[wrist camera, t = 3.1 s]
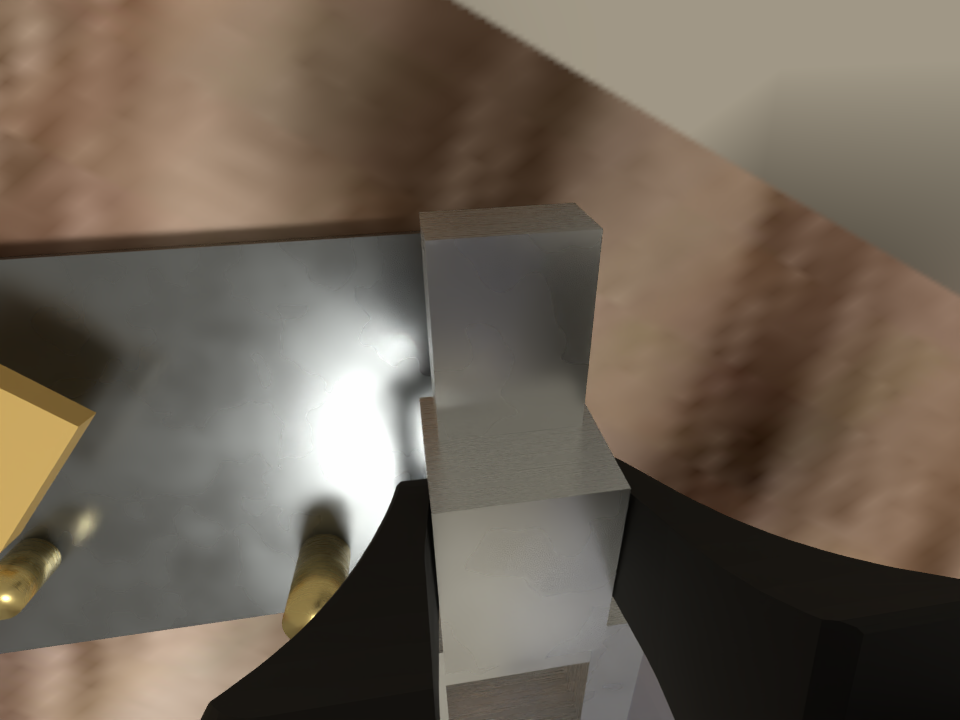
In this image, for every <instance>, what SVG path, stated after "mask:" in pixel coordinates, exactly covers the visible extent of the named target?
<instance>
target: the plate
mask: <svg viewBox="0 0 960 720" xmlns="http://www.w3.org/2000/svg"><path fill="white" fill-rule="evenodd" d="M0 364H1V365H3V366H5V367H7V368H9V369H11V370H13V371H15V372H17V373H19V374H21V375H23V376H25V377H27V378H29V379H31V380H33V381H35V382H37V383H39V384H41V385H43V386H45V387H47V388H49V389H51V390H52V391H54V392H56V393H58V394H60V395H62V396H64V397H66V398H68V399H70V400H72V401H74V402H76V403H78V404H80V405H82V406H84V407H86V408H88V409H90V410H92V411H94V412H96V414H95V416H94V417H93V419H92V420H91V422H90V424H89V425H88V427H87V428H86V430H85V432H84V433H83V435H82V436H81V438H80V440H79V441H78V443H77V444H76V446H75V448H74V449H73V451H72V452H71V454H70V456H69V457H68V459H67V460H66V462H65V464H64V465H63V467H62V468H61V470H60V471H59V473H58V475H57V476H56V478H55V479H54V481H53V483H52V484H51V486H50V487H49V489H48V491H47V492H46V494H45V495H44V497H43V499H42V500H41V502H40V503H39V505H38V507H37V508H36V510H35V511H34V513H33V515H32V516H31V518H30V519H29V521H28V523H27V524H26V526H25V527H24V529H23V530H22V532H21V534H19V535H18V536H17V537H16V538H15V539H14V540H13V541H12V542H11V543H10V544H9V545H8V546H7V547H6V548H5V549H4V550H3V551H2V552H1V553H0V560H1V559H2V558H3V557H4V556H5V555H6V554H7V553H8V552H9V551H10V550H11V549H12V548H13V547H14V546H15V545H16V544H18V543H19V542H21V541H23V540H26V539H31V538H37V539H43V540H46V541H48V542H50V543H52V544H53V545H54V546H55V547H57V549H58V550H59V552H60V554H61V563H60V566H59V567H58V568H57V569H56V571H55V572H54V573H53V574H52V575H51V576H50V578H49V579H48V580H47V581H46V582H45V583H44V585H43V586H42V587H41V588H40V589H39V590H38V592H37V593H36V594H35V595H34V596H33V597H32V599H31V600H30V601H29V602H28V603H27V604H26V606H25V607H24V608H23V609H22V610H21V612H20V613H19V614H17V615H16V616H14V617H12V618H10V619H5V620H0V654H2V653H9V652H16V651H22V650H29V649H36V648H43V647H50V646H57V645H64V644H71V643H78V642H84V641H91V640H98V639H105V638H112V637H119V636H126V635H133V634H140V633H146V632H153V631H160V630H167V629H174V628H181V627H188V626H195V625H202V624H208V623H215V622H222V621H229V620H236V619H243V618H250V617H257V616H264V615H270V614H277V613H284V611H285V607H286V603H287V599H288V595H289V591H290V587H291V583H292V579H293V575H294V571H295V567H296V563H297V559H298V555H299V551H300V548H301V547H302V545H303V544H304V542H306V541H307V540H308V539H309V538H311V537H313V536H316V535H320V534H331V535H335V536H338V537H340V538H341V539H343V540H344V541H345V542H346V543H347V544H348V546H349V548H350V552H351V557H350V566H349V574H350V573H351V571H352V570H353V568H354V567H355V565H356V564H357V563H358V561H359V559H360V558H361V556H362V555H363V553H364V551H365V550H366V548H367V547H368V545H369V543H370V542H371V540H372V539H373V537H374V535H375V533H376V531H377V529H378V527H379V526H380V524H381V522H382V520H383V518H384V516H385V514H386V512H387V510H388V507H389V505H390V503H391V500H392V498H393V495H394V492H395V488H396V486H397V485H398V484H399V483H400V482H401V481H409V480H417V479H426V469H425V458H424V446H423V435H422V424H421V412H420V401H419V398H420V397H430V396H432V383H431V369H430V356H429V342H428V328H427V314H426V301H425V287H424V273H423V259H422V246H421V232H420V231H412V232H396V233H380V234H364V235H348V236H332V237H316V238H300V239H284V240H269V241H253V242H237V243H221V244H205V245H189V246H173V247H157V248H141V249H125V250H109V251H93V252H77V253H62V254H46V255H30V256H14V257H0Z"/></svg>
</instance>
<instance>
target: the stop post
mask: <svg viewBox="0 0 960 720" xmlns="http://www.w3.org/2000/svg"><path fill="white" fill-rule="evenodd" d="M60 563H61V554H60V552H59V550H58V549H57V547H55V546H54V545H53V544H52V543H50V542H48V541H46V540H43V539H37V538H31V539H26V540H23V541H21V542H19V543H18V544H16V545H15V546H14V547H13V548H12V549H11V550H10V551H9V552H8V553H7V554H6V555H5V556H4V557H3V558H2V559H1V560H0V620H5V619H10V618H12V617H14V616H16V615H17V614H19V613H20V612H21V610H22V609H23V608H24V607H25V606H26V604H27V603H28V602H29V601H30V600H31V599H32V597H33V596H34V595H35V594H36V593H37V592H38V590H39V589H40V588H41V587H42V586H43V585H44V583H45V582H46V581H47V580H48V579H49V578H50V576H51V575H52V574H53V573H54V572H55V571H56V569H57V568H58V567H59V566H60Z"/></svg>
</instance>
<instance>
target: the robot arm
mask: <svg viewBox="0 0 960 720" xmlns="http://www.w3.org/2000/svg"><path fill="white" fill-rule="evenodd" d="M615 460H616V462H617V464H618V466H619V467H620V469H621V471H622V473H623V475H624V477H625V478H626V480H627V482H628V484H629V486H630V488H631V492H630V497H629V503H628V509H627V514H626V520H625V525H624V531H623V537H622V542H621V548H620V553H619V559H618V565H617V570H616V576H615V581H614V587H613V593H612V596H613V598H614V600H615V602H616V603H617V605H618V607H619V609H620V611H621V612H622V614H623V616H624V618H625V620H626V621H627V623H628V625H629V627H630V629H631V631H632V632H633V634H634V636H635V638H636V640H637V641H638V643H639V645H640V647H641V649H642V650H643V656H642V660H641V664H640V668H639V672H638V676H637V680H636V684H635V688H634V692H633V696H632V700H631V704H630V708H629V712H628V716H627V720H960V579H956V578H951V577H945V576H939V575H933V574H928V573H922V572H916V571H910V570H905V569H899V568H894V567H889V566H884V565H880V564H876V563H871V562H867V561H863V560H858V559H854V558H850V557H846V556H842V555H838V554H835V553H831V552H827V551H824V550H820V549H817V548H814V547H810V546H807V545H804V544H801V543H798V542H794V541H791V540H788V539H785V538H782V537H779V536H776V535H773V534H771V533H768V532H765V531H763V530H760V529H758V528H755V527H753V526H750V525H747V524H745V523H742V522H740V521H737V520H735V519H733V518H730V517H728V516H726V515H724V514H721V513H719V512H717V511H715V510H713V509H711V508H709V507H707V506H705V505H702V504H700V503H698V502H696V501H694V500H692V499H690V498H689V497H687V496H685V495H683V494H681V493H679V492H677V491H675V490H673V489H672V488H670V487H668V486H666V485H664V484H662V483H661V482H659V481H657V480H655V479H653V478H652V477H650V476H648V475H646V474H645V473H643V472H641V471H639V470H637V469H636V468H634V467H632V466H630V465H628V464H627V463H625V462H623V461H621V460H619V459H617V458H615ZM201 720H440V707H439V599H438V588H437V577H436V566H435V555H434V543H433V532H432V521H431V510H430V499H429V490H428V482H427V478H426V479H417V480H409V481H401V482H400V483H399V484H398V485H397V486H396V488H395V492H394V495H393V498H392V500H391V503H390V505H389V507H388V510H387V512H386V514H385V516H384V518H383V520H382V522H381V524H380V526H379V527H378V529H377V531H376V533H375V535H374V537H373V539H372V540H371V542H370V543H369V545H368V547H367V548H366V550H365V551H364V553H363V555H362V556H361V558H360V559H359V561H358V563H357V564H356V565H355V567H354V568H353V570H352V571H351V573H350V574H349V575H348V577H347V578H346V579H345V581H344V582H343V583H342V584H341V586H340V587H339V588H338V590H337V591H336V592H335V593H334V594H333V596H332V597H331V598H330V599H329V600H328V601H327V603H326V604H325V605H324V606H323V607H322V608H321V609H320V610H319V612H318V613H317V614H316V615H315V616H314V617H313V618H312V619H311V620H310V621H309V622H308V623H307V624H306V625H305V626H304V627H303V628H302V629H301V630H300V631H299V632H298V633H297V634H296V635H295V636H294V637H293V638H292V639H290V640H289V641H288V642H287V643H286V644H285V645H284V646H283V647H281V648H280V649H279V650H278V651H277V652H276V653H274V654H273V655H272V656H271V657H270V658H268V659H267V660H266V661H265V662H263V663H262V664H261V665H260V666H259V667H257V668H256V669H255V670H253V671H252V672H250V673H249V674H248V675H246V676H245V677H244V678H242V679H241V680H240V681H238V682H237V683H236V684H234V685H233V686H231V687H230V688H229V689H227V690H226V691H225V692H223V693H222V694H221V695H219V696H218V697H216V698H215V699H213V700H212V701H210V703H209V704H208V706H207V708H206V710H205V712H204V714H203V716H202V718H201Z"/></svg>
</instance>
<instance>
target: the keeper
mask: <svg viewBox="0 0 960 720" xmlns="http://www.w3.org/2000/svg"><path fill="white" fill-rule="evenodd" d="M95 414H96V412H94V411H92V410H90V409H88V408H86V407H84V406H82V405H80V404H78V403H76V402H74V401H72V400H70V399H68V398H66V397H64V396H62V395H60V394H58V393H56V392H54V391H52V390H51V389H49V388H47V387H45V386H43V385H41V384H39V383H37V382H35V381H33V380H31V379H29V378H27V377H25V376H23V375H21V374H19V373H17V372H15V371H13V370H11V369H9V368H7V367H5V366H3V365H1V364H0V553H1V552H2V551H3V550H4V549H5V548H6V547H7V546H8V545H9V544H10V543H11V542H12V541H13V540H14V539H15V538H16V537H17V536H18V535H19V534H21V532H22V530H23V529H24V527H25V526H26V524H27V523H28V521H29V519H30V518H31V516H32V515H33V513H34V511H35V510H36V508H37V507H38V505H39V503H40V502H41V500H42V499H43V497H44V495H45V494H46V492H47V491H48V489H49V487H50V486H51V484H52V483H53V481H54V479H55V478H56V476H57V475H58V473H59V471H60V470H61V468H62V467H63V465H64V464H65V462H66V460H67V459H68V457H69V456H70V454H71V452H72V451H73V449H74V448H75V446H76V444H77V443H78V441H79V440H80V438H81V436H82V435H83V433H84V432H85V430H86V428H87V427H88V425H89V424H90V422H91V420H92V419H93V417H94V416H95Z"/></svg>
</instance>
